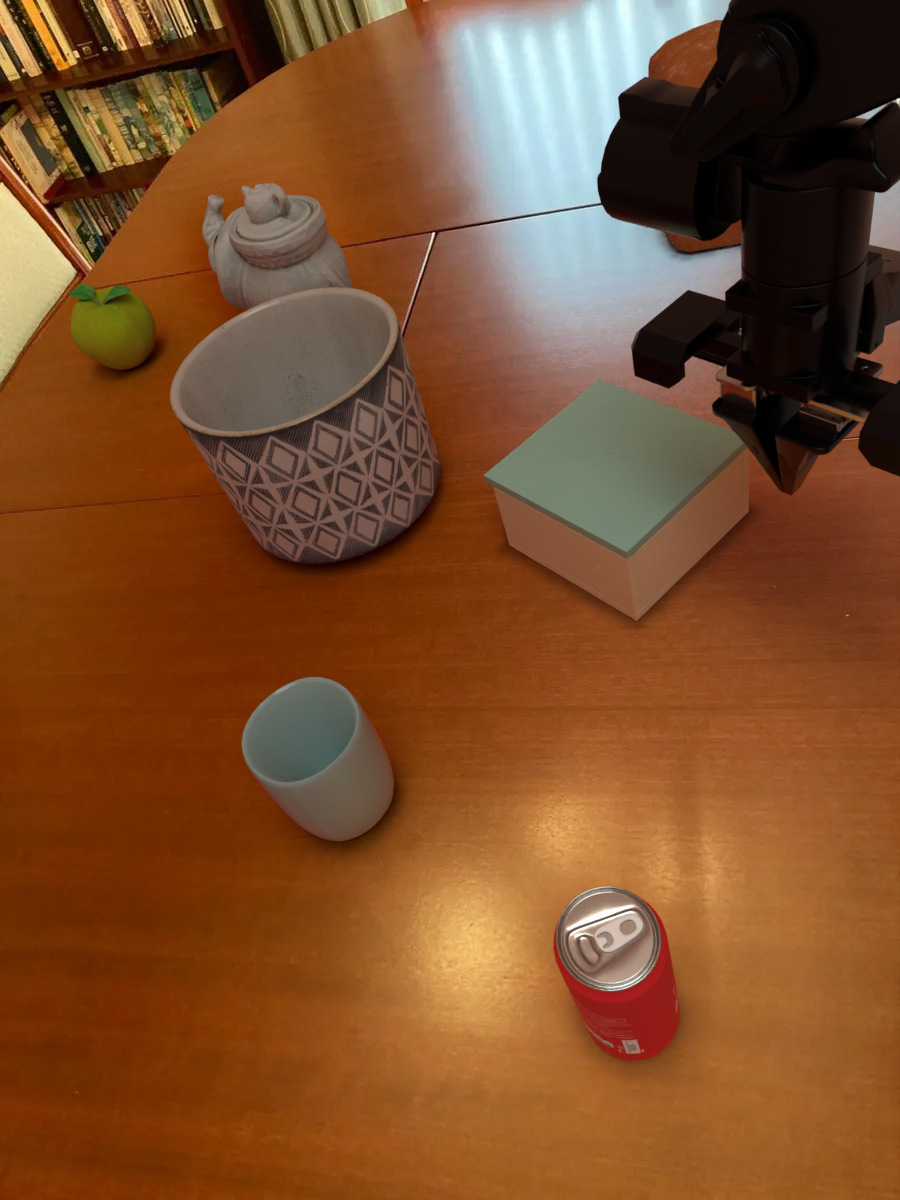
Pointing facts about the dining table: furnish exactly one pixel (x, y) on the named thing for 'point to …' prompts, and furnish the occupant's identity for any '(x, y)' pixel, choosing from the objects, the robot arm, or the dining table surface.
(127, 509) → the dining table surface
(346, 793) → the cup
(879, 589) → the dining table surface
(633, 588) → the cream square box
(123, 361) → the fruit
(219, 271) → the teapot
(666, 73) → the bread
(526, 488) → the lid
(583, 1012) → the beverage can
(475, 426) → the dining table surface
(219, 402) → the planter
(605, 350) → the dining table surface
